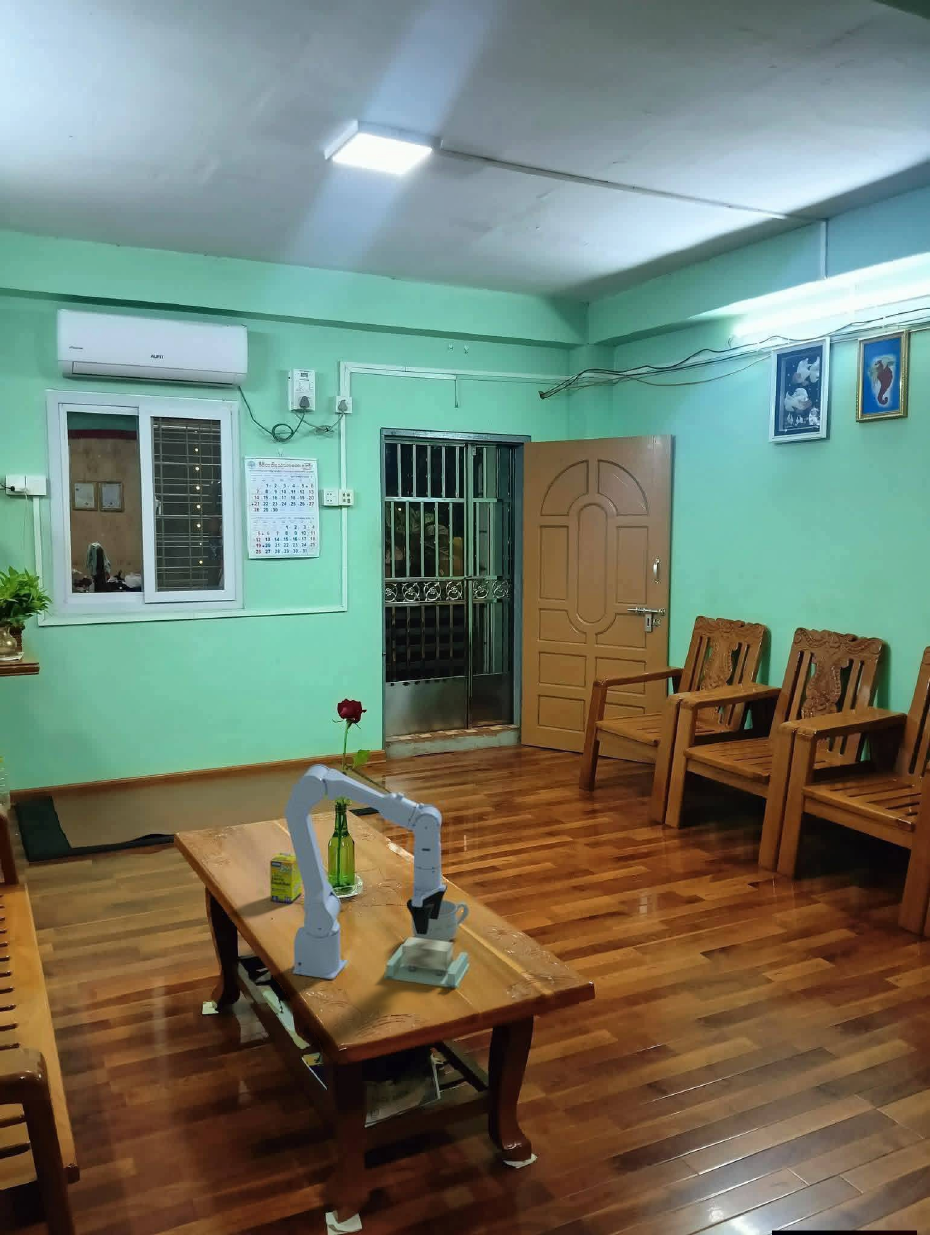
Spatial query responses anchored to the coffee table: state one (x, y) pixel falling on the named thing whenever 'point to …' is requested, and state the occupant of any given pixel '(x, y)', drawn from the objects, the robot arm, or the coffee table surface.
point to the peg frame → (427, 971)
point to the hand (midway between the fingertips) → (427, 925)
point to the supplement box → (285, 878)
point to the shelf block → (427, 953)
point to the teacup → (444, 922)
